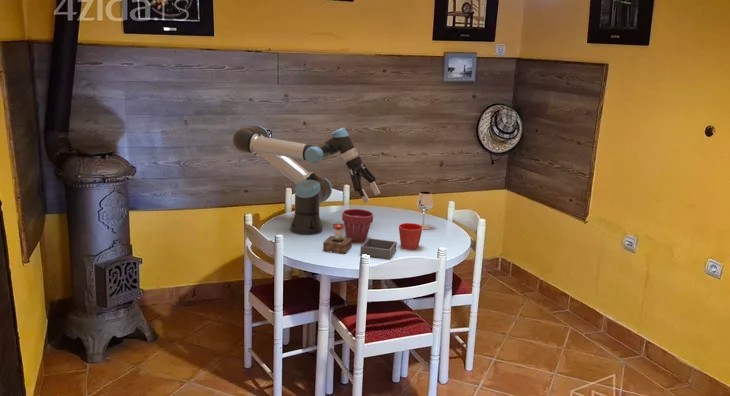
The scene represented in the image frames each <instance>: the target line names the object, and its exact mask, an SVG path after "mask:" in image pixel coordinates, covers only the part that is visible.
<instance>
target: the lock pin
mask: <svg viewBox="0 0 730 396" xmlns="http://www.w3.org/2000/svg"><path fill="white" fill-rule="evenodd" d="M333 229H334V236H335V241H334V242H341V238H342V237H343V235H342V234H343V229H345V226H344V223H333Z"/></svg>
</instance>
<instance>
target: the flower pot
mask: <svg viewBox="0 0 730 396" xmlns="http://www.w3.org/2000/svg"><path fill="white" fill-rule="evenodd" d="M421 225H422V224H418V223H412V222H406V223H401V224H399V225H398V231H399V232H398V233H399V240H400V247H401V248H402V249H406V250H416V249H418V248H419V244H420V240H421V237H422V233H423V229H422V228H423V227H422V226H421Z"/></svg>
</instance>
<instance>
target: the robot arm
mask: <svg viewBox="0 0 730 396" xmlns="http://www.w3.org/2000/svg"><path fill="white" fill-rule="evenodd" d="M347 131H348V130H346V128H344V127H341V128H338V129H337V130H334V131H333V132H331V133H330V136H331V137H330V138H329V139H328V140H325V141H323V142H322V143H319V144H316V145H314V144H308V143H303V142H296V141H290V140H283V139H277V138H272V137H271V136H269V135H270V134H269V132H268V131H267V129H266V128H264V127H263V126H261V125H250V126H247V127H243V128H240V129H237V130H236V131H235V132H234V133H233V136H232V140H231V141H232V144H233V147H234V148H235V149H236V151H239V152H240V153H241V152H242V153H248V154H253V155H255V156H256V157H258V158H259V157H262V158H263V159H265V160H266V161H267V162H268V163H270V164H271V165H272V166H273V167H274V168H275V169H277V171H279V172H280V173H281V174H283V175H284V176H285V177H287V178H288V179H289V180H290V181H291V182H293V183H294V184H295V189H294V215H293V218H292V221H291V223H290V231H291V232H292V233H295V234H297V235H316V234H320V233H322V232H323V224H322V220H321V216H320V204H323V203H324V202H326V201H327V200H328V199H329V198H330V196H331V195H332V193H333V187H332V183H331V182H330V180H328V178H326V177H322V176H319V175H318V174H316V173H315V172H313V171H311V172H310V171H308V170H307V169H306V168H304V167H303V166H302V165H300V164H299V163H298V162H297V161H296V160H294V159H297V160H303V161H307V162H308V163H310V164H317V163H319V162H322V161H324V160H327V159H329V158H330V157H332V156H334V155H335V154H337V153H340V155H341V158H343V159H342V160H343V161H344V162H345V165H346V166H347V169H348V170H350V171H349V172H348V174H349V175H350V178H351V183H352V187H353V191H354V192H356V193H358V194H359V196H360V198H361V200H362V202H363V204H367V203H368V202H370V198H369V197H368V195H367V194H366V191H365V190H364V188H363V186H362V178H363V179H364V180H366V181H367V182H368V183H369V186H370V188H371V190H372V192H373V194H374V196H377V195H379V194H381V191H380V190H379V188H378V185H377V184H376V180H377V179H376V177H375V176H374V174H373V173H372V172H371V171H370V170H369V169H368V167H367V166H366V164H365V163H363V160H362V158H361V157H360V155H359V153H358V149H357V148H356V147H355V144H354V143H353V141H352V139H351V137H350V134H349V133H348V132H347ZM362 163H363V164H362Z"/></svg>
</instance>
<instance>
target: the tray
mask: <svg viewBox="0 0 730 396" xmlns="http://www.w3.org/2000/svg"><path fill="white" fill-rule="evenodd" d="M397 244H398V243H397V241H394V240H386V239H378V238H371V237H367V238H366V240H365V241H363V243H362V244H361V246H360V253H359V254H360V255H362V254H367V255H370V256H371V257H370V258H375V259H382V260H391V259H392V257H393V255H394V254H395V253H396V251H397Z"/></svg>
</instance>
